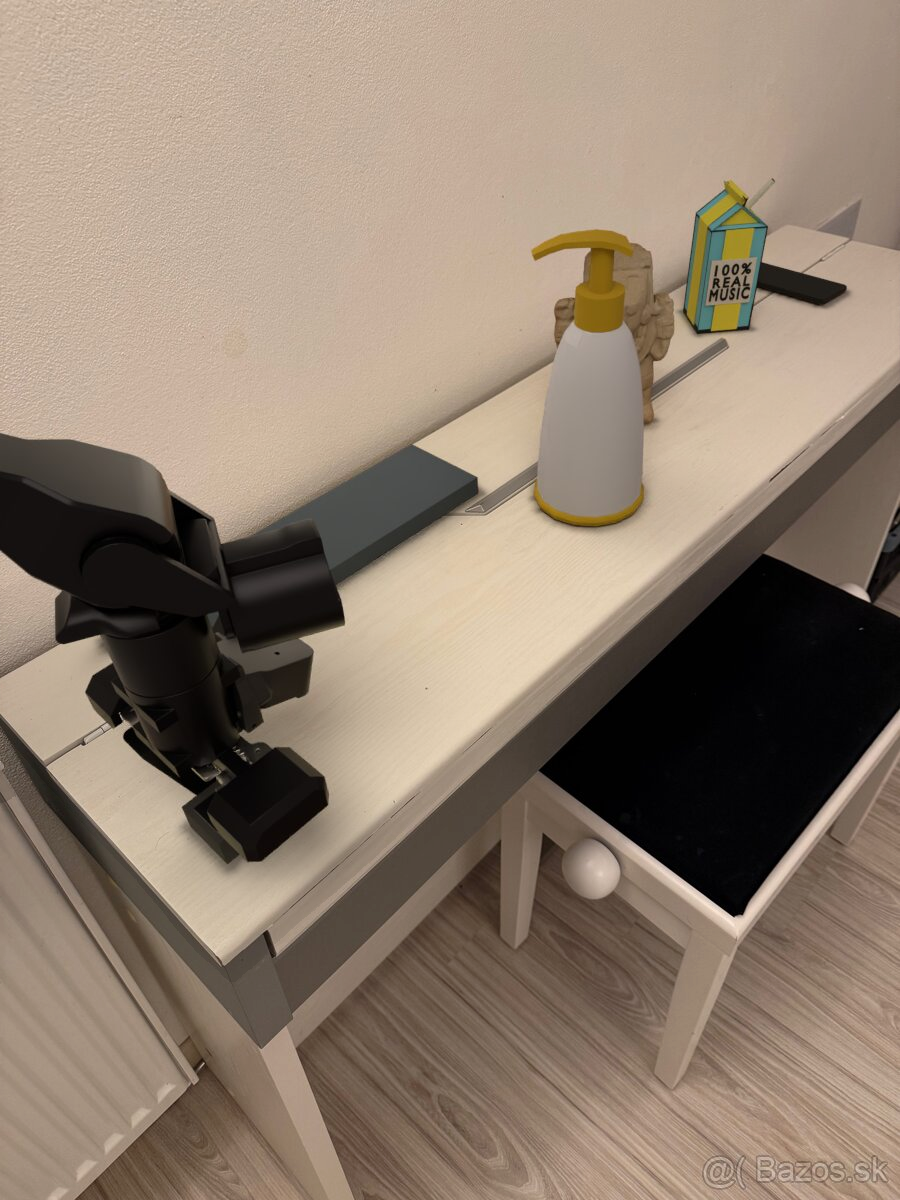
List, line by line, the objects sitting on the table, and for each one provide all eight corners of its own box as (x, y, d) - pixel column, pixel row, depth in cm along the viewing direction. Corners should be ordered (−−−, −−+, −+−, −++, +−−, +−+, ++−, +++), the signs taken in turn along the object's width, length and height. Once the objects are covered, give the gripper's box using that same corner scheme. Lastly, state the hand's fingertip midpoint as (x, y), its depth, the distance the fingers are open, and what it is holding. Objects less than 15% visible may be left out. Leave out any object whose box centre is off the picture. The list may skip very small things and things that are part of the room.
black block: (190, 827, 61) (181, 806, 60) (241, 787, 64) (233, 766, 62) (227, 864, 59) (218, 844, 57) (278, 822, 61) (272, 801, 60)
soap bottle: (525, 469, 93) (525, 216, 75) (633, 462, 92) (658, 207, 75) (535, 533, 84) (538, 265, 67) (653, 526, 84) (687, 255, 67)
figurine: (554, 441, 97) (559, 262, 83) (548, 408, 102) (552, 235, 89) (669, 434, 96) (693, 254, 83) (657, 402, 101) (677, 227, 88)
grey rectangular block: (162, 696, 71) (155, 680, 70) (103, 639, 77) (95, 623, 75) (478, 492, 90) (477, 477, 89) (413, 459, 95) (411, 443, 94)
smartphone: (755, 259, 129) (849, 285, 120) (754, 265, 130) (847, 291, 121) (728, 273, 126) (823, 300, 117) (727, 279, 126) (822, 306, 118)
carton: (756, 329, 114) (784, 184, 102) (697, 334, 114) (718, 190, 102) (738, 306, 120) (762, 166, 107) (682, 311, 119) (700, 171, 107)
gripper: (379, 659, 49) (404, 815, 60) (194, 533, 59) (244, 686, 70) (219, 781, 44) (278, 930, 54) (45, 618, 54) (123, 771, 64)
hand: (230, 814), depth 61 cm, fingers closed on black block, 4 cm apart
